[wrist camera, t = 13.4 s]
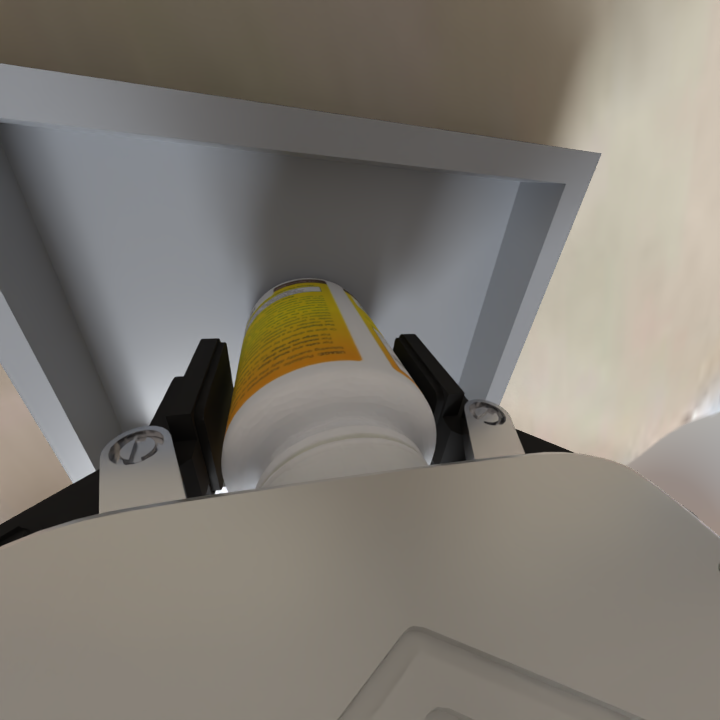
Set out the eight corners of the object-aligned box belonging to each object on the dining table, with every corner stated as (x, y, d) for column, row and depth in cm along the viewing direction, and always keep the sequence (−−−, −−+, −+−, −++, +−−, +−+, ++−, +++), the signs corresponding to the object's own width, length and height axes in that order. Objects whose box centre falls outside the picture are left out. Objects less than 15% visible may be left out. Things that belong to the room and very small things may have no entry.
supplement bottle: (227, 359, 14) (152, 637, 6) (277, 249, 12) (279, 408, 4) (332, 395, 17) (393, 626, 8) (387, 307, 15) (543, 485, 6)
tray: (-43, 78, 9) (-199, 33, 6) (532, 157, 14) (601, 153, 11) (125, 458, 17) (93, 518, 14) (448, 425, 22) (474, 464, 19)
